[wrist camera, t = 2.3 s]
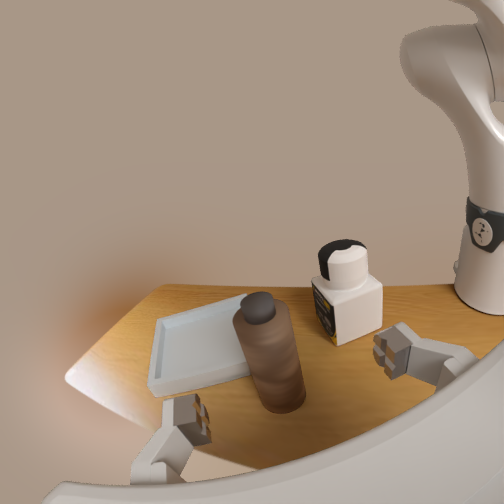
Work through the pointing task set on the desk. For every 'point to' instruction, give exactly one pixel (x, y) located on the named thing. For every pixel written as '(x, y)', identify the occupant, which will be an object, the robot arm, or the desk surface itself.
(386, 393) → the desk surface
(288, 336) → the walnut pepper mill
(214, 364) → the pale dish
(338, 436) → the desk surface
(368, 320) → the medicine bottle
